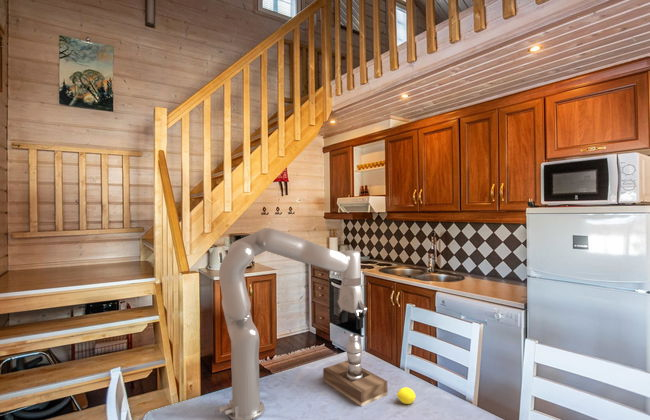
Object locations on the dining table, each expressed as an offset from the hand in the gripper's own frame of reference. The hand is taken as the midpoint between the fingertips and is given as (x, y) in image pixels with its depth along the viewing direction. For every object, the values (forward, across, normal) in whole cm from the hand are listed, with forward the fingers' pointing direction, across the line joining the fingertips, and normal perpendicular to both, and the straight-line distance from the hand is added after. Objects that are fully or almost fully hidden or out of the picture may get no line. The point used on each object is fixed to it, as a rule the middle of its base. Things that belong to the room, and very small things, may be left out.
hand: (351, 325), depth 140 cm
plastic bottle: (+24, +1, +1) cm, 24 cm away
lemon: (+25, +20, +9) cm, 33 cm away
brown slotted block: (+25, 0, +1) cm, 25 cm away
